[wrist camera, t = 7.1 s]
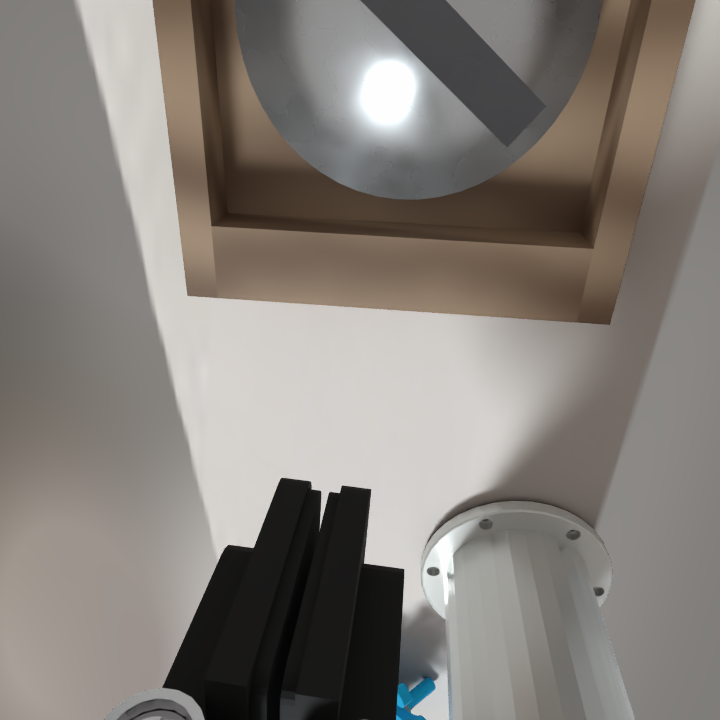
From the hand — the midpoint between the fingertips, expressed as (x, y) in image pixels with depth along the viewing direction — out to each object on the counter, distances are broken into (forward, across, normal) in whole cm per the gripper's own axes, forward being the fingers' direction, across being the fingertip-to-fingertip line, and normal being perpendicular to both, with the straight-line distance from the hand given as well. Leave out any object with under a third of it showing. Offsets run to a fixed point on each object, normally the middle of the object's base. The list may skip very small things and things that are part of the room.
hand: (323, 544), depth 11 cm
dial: (+19, 0, -10) cm, 22 cm away
